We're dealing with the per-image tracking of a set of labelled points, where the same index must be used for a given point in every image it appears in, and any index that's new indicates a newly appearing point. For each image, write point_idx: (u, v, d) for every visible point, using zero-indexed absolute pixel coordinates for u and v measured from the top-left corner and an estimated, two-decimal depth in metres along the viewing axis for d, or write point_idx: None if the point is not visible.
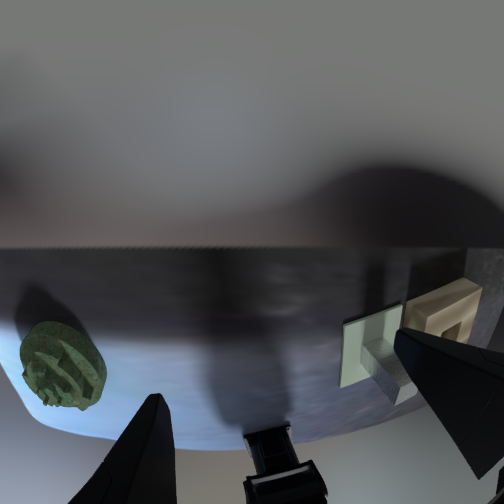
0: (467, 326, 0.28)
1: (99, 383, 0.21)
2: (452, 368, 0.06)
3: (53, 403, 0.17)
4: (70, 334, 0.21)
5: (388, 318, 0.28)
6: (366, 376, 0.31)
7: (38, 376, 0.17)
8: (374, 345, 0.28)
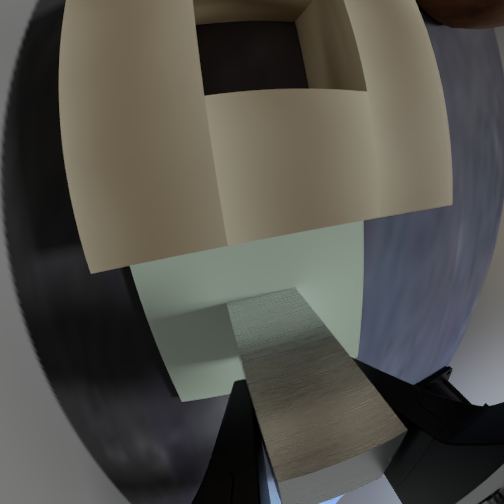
0: None
1: None
2: None
3: None
4: None
5: (167, 303, 0.11)
6: (356, 301, 0.13)
7: None
8: None
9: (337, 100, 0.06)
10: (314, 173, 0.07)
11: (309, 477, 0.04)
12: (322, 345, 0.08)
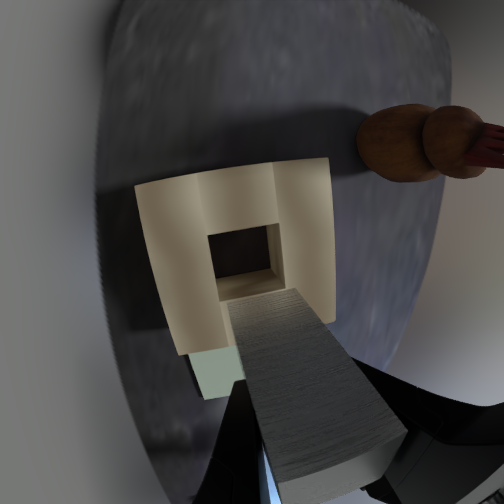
0: (232, 195, 0.16)
1: None
2: None
3: None
4: None
5: (200, 354, 0.23)
6: None
7: None
8: (237, 350, 0.11)
9: None
10: None
11: (309, 478, 0.04)
12: (322, 346, 0.08)
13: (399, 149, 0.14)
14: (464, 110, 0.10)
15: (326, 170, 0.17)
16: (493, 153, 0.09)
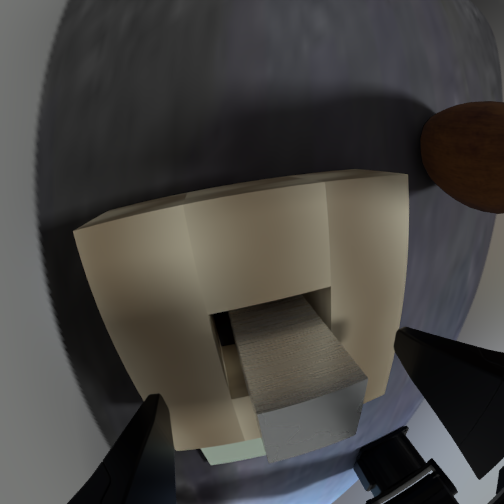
0: (252, 244, 0.09)
1: None
2: (452, 368, 0.06)
3: None
4: None
5: None
6: None
7: None
8: None
9: None
10: None
11: (284, 413, 0.06)
12: (300, 313, 0.10)
13: (503, 169, 0.07)
14: None
15: (404, 195, 0.09)
16: None
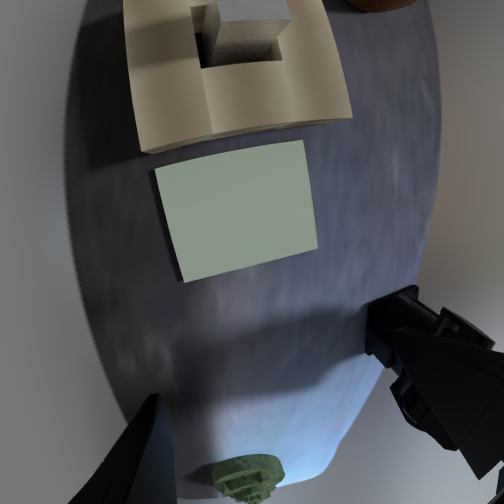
0: None
1: (253, 469, 0.26)
2: (452, 368, 0.06)
3: (261, 500, 0.24)
4: (215, 472, 0.27)
5: (177, 194, 0.17)
6: (307, 198, 0.19)
7: (240, 500, 0.25)
8: (206, 58, 0.14)
9: (265, 66, 0.12)
10: (254, 100, 0.13)
11: None
12: None
13: None
14: None
15: None
16: None
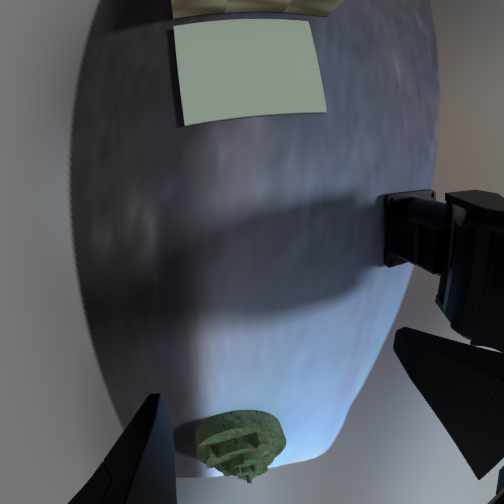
0: None
1: (248, 428, 0.23)
2: (452, 368, 0.06)
3: (256, 473, 0.21)
4: (200, 433, 0.24)
5: (191, 45, 0.14)
6: (314, 64, 0.16)
7: (228, 473, 0.21)
8: None
9: None
10: None
11: None
12: None
13: None
14: None
15: None
16: None
